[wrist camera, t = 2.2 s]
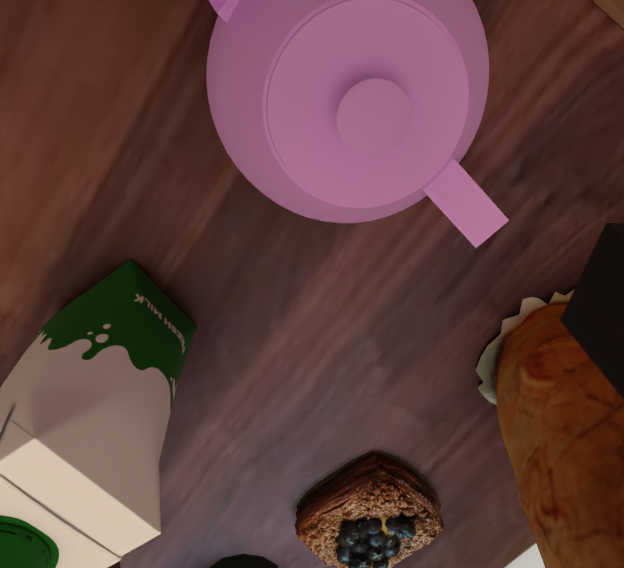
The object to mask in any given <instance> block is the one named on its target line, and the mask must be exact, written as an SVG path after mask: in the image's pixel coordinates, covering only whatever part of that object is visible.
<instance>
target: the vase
mask: <svg viewBox="0 0 624 568" xmlns="http://www.w3.org/2000/svg"><path fill="white" fill-rule="evenodd" d="M573 292H574V290H572V291H571V292H570V293H568V294H567V295H565V296H564V295H561V294H559V293H557V292H555V293H554V295H553V297H552V299H551V301H550V303H549V304H547V303H545V302H544V301H542V300H541V299H538V298H535V297H530V298H525V299H523V300H522V305H521V309H520V314H519V315H516V316H513V317H510V318H507V319H504V320H503V321H502V329H501V334H500V335H499V336H498V337H497V338H496V339H495V340H493V341H492V342H491V343H490V344H489V345H488V346H487V348H486V349H485V351H484V353H483V354H482V356H481V358H480V361H479V363H478V366H477V368H476V372H477V373H478V375H479V377H480V378H481V380H482V381H483V383H482V384H481V385H480V386H479V387H478V389H479V391H480V392H481V393H482V395H483V396H484V397H485V398H486V399H487V400H488V401H489V402H490V403H493V404H496V405H497V414H498V420H499V426H500V430H501V433H502V436H503V440H504V443H505V446H506V449H507V451H508V455H509V458H510V462H511V464H512V467H513V470H514V473H515V476H516V479H517V484H518V490H519V495H520V499H521V503H522V506H523V509H524V512H525V515H526V518H527V521H528V524H529V526H530V528H531V531H532V533H533V536H534V538H535V541H536V543H537V546H538V549H539V551H540V554H541V557H542V559H543V562H544V565H545V568H624V399H623V398H622V397H621V396H620V394H619V393H618V392H617V391H616V389H615V388H614V387H613V386H612V385H611V383H610V382H609V381H608V380H607V378H606V377H605V376H604V375H603V373H602V372H601V371H600V370H599V368H598V367H597V366H596V365H595V364H594V362H593V361H592V360H591V359H590V357H589V356H588V355H587V354H586V352H585V351H584V350H583V349H582V347H581V346H580V345H579V344H578V342H577V341H576V340H575V339H574V338H573V336H572V335H571V334H570V333H569V331H568V330H567V329H566V328H565V326H564V325H563V324H562V323H561V321H560V319H561V316H562V314H563V312H564V310H565V308H566V306H567V304H568V302H569V300H570V298H571V296H572V294H573Z"/></svg>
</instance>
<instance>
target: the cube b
mask: <svg viewBox="0 0 624 568" xmlns="http://www.w3.org/2000/svg"><path fill="white" fill-rule="evenodd" d="M592 1H593V2H594V3H595V4H596V5H597V6H598V7H600V8H601V9H602V10H603V11H604V12H605V13H606V14H608V15H609V16H610V17H611V18H612V19H613V20H614V21H616V22H617V23H618V24H619V25H620V26H621V27H622V28H624V0H592Z"/></svg>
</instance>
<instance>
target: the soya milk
mask: <svg viewBox="0 0 624 568" xmlns="http://www.w3.org/2000/svg"><path fill="white" fill-rule="evenodd" d="M195 329H196V325H195V324H194V323H193V322H192V321H191V320H190V319H189V318H188V317H187V316H186V315H185V314H184V313H183V312H182V311H181V310H180V309H179V308H178V307H177V306H176V305H175V304H174V303H173V302H172V301H171V300H170V299H169V297H168V296H167V295H166V294H165V293H164V292H163V291H162V290H161V289H160V288H159V287H158V286H157V285H156V284H155V283H154V282H153V281H152V280H151V279H150V278H149V277H148V276H147V275H146V274H145V273H144V272H143V271H142V270H141V269H140V268H139V267H138V266H137V264H136V263H135V262H134V261H133V260H132V259H131V260H129V261H128V262H126V263H125V264H124V265H122V266H121V267H120V268H118V269H117V270H115V271H114V272H113V273H111V274H110V275H108V276H107V277H106V278H104V279H103V280H101V281H100V282H99V283H97V284H96V285H94V286H93V287H92V288H90V289H89V290H88V291H86V292H85V293H83V294H82V295H81V296H79V297H78V298H76V299H75V300H74V301H72V302H71V303H69V304H68V305H67V306H65V307H64V308H62V309H61V310H60V311H58V312H57V313H56V314H55V315H54V316H53V317H52V318H51V319H50V320H49V321H48V322H47V323H46V324H45V325H44V326H43V328H42V329H41V330H40V331H39V333H38V334H37V335H36V337H35V338H34V340H33V341H32V343H31V344H30V345H29V347H28V348H27V350H26V351H25V353H24V354H23V356H22V357H21V359H20V360H19V362H18V363H17V364H16V366H15V367H14V369H13V370H12V372H11V373H10V375H9V376H8V378H7V379H6V380H5V382H4V383H3V385H2V386H1V388H0V568H108V567H110V566H112V565H113V564H115V563H117V562H119V561H120V560H121V558H122V557H123V555H124V554H126V553H128V552H130V551H131V550H133V549H135V548H137V547H138V546H140V545H142V544H144V543H146V542H147V541H149V540H151V539H153V538H154V537H156V536H158V535H160V534H161V519H160V491H159V460H160V455H161V451H162V446H163V442H164V438H165V433H166V429H167V425H168V420H169V416H170V412H171V408H172V403H173V399H174V395H175V390H176V386H177V382H178V378H179V375H180V372H181V369H182V366H183V363H184V361H185V358H186V355H187V352H188V349H189V346H190V344H191V341H192V338H193V335H194V332H195Z"/></svg>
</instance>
